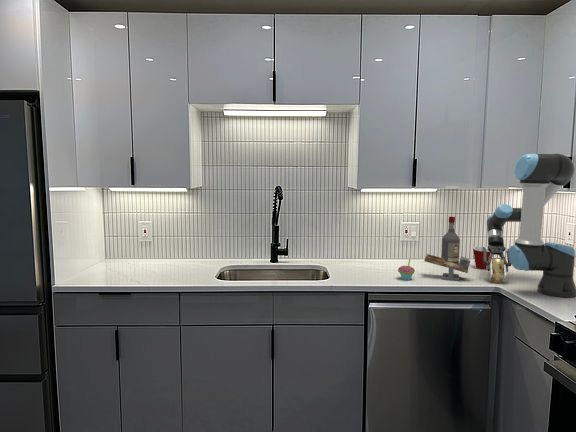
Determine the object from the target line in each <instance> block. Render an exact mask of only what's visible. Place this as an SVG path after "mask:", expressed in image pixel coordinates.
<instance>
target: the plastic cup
mask: <svg viewBox="0 0 576 432" xmlns="http://www.w3.org/2000/svg"><path fill="white" fill-rule="evenodd" d="M483 247H484V246H473V247H472V250H473V260H474V264H475V269H480V270H485V269H487V265H486V264H485V265H484V264H483V251H482V248H483ZM490 254H491V252H490V251H489V250H487V252H486V261H487V262H488V260H489V257H490Z"/></svg>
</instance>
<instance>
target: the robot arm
mask: <svg viewBox="0 0 576 432" xmlns="http://www.w3.org/2000/svg"><path fill="white" fill-rule="evenodd" d="M574 174H575V165H574V162H573V160H572V159H571V158H569V156H568V155H566V154H562V153H527V154H523V155H522V156H521V157H520V158H519V159H518V160H517V162H516V165H515V168H514V175H515V178H516V179H517V180H519V184H520V185H521V186H522V188H523V189H522V197H521V198H522V199H521V207H512V206H511V205H509V204H507V203H501V204H499V205H498V206H497V207H496V208H495V210H494V212H493V214H490V215H488V216H487V219H486V229H487V230H486V231H487V232H486V233H487V246H486V247H485V246H482V247H483V248H482V251H483V264H484V265H485V264H486V265H487V267H486V269H487V271H489V275H490V276H489V277H490V278H491V277H492V275H493V273H492V258H494V255H495V256H496V255H497V256H499V258H501V259H504V273H503V279H507V273H508V271H509V267H511V266H512V268H514V269H515V270H517V271H524V272H528V271H530V272H533V271H534V272H535V271H536V272H537V271H538V272H542V276H541V278H540V280H539V282H538V284H537V292H539V293H540V294H543V295H547V296H550V297H551V296H552V297H560V298H576V283H575V281H574V274H575V273H574V272H575V260H576V259H575V258H576V251H575V248H574V247H573V246H570V245H566V244H561V243H555V242H544V241H543V240H542V232H543V231H542V230H543V219H544V210H545V206H546V205H547V203H548V202H549V201H550V200H551V199H552V198H553V197H554V196H555V194H556V193H557V192H558V191H559V190H560V189H561V187H563V186H565V185H567V184H568V183H569V182H570V181H571V180H572V178H573V176H574ZM508 222H509V223H515V222H516V223H519V224H520V225H519V233H518V234H519V237H518V238H517V239H516V240H514V244H513V245H511V246H510V247H509V248H506V247H505V242H504V230H503V229H504V226H505V225H506V223H508ZM487 250H489V251H490V252H491V253H490V256H489V260H488V262H487V261H486V252H487ZM504 252H505V253H506V256H505V254H504Z"/></svg>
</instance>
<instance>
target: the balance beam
mask: <svg viewBox="0 0 576 432" xmlns="http://www.w3.org/2000/svg"><path fill="white" fill-rule="evenodd" d="M423 261H424V262H426V263H429V264H433V265H436V266H441V267H443V268H448V269H449V266H454V271H457V272H462V273H466V274H468V273H469V268H470V265H471V259H470V258H468V257H464V256H460V257H459V265H458V264H454V263H451V262H447V261H444V258H441V257H439V256H437V255H432V254H428V253H426V255H425V257H424V260H423Z"/></svg>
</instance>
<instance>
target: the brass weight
mask: <svg viewBox="0 0 576 432" xmlns="http://www.w3.org/2000/svg"><path fill="white" fill-rule="evenodd" d="M491 264H492V273H493V275H492V277H490V282H491V283H494V284H503V283H504V259H501V257H492V260H491Z"/></svg>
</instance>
